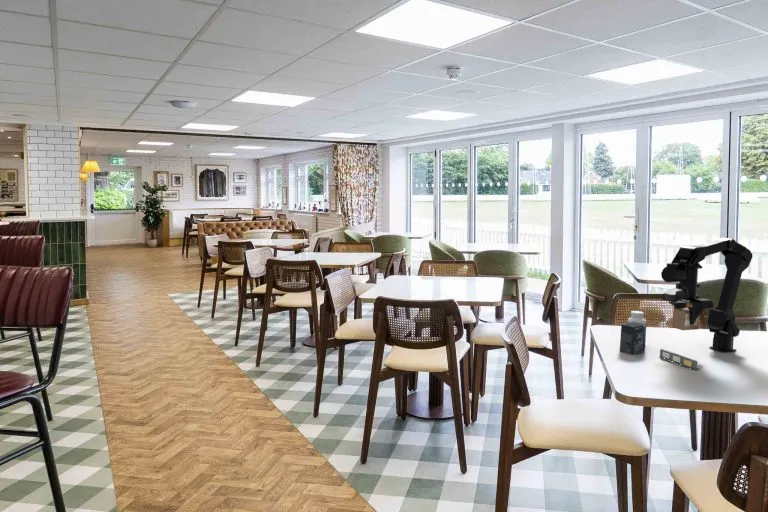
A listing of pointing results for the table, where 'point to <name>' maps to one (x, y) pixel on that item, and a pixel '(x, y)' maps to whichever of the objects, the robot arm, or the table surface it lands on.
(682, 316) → the tea box
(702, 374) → the table surface
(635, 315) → the supplement bottle
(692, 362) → the rail
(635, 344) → the box
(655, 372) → the table surface
